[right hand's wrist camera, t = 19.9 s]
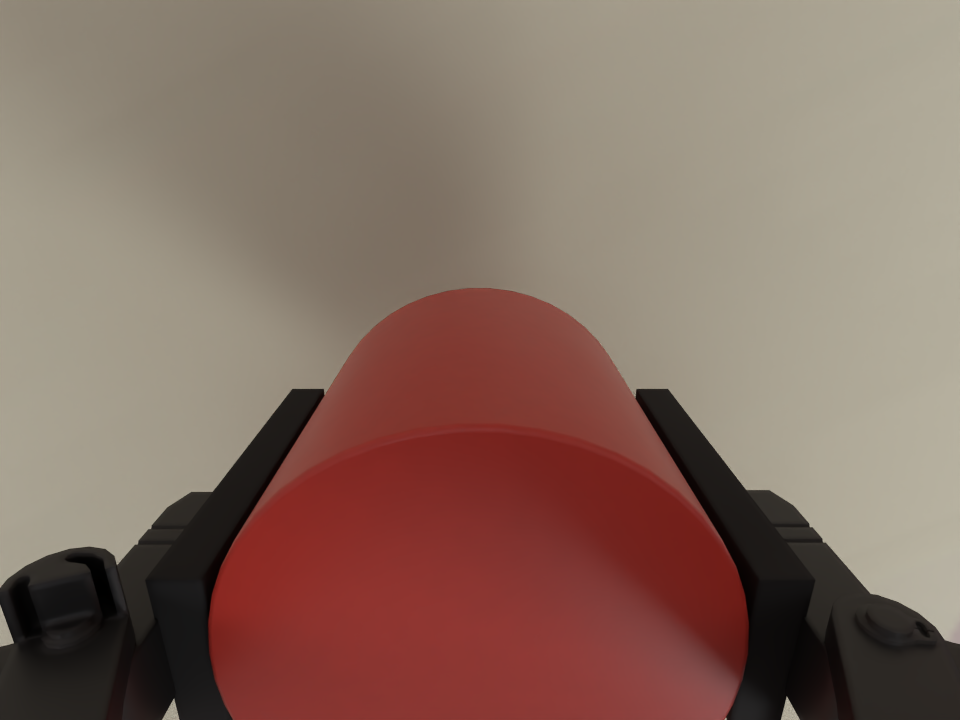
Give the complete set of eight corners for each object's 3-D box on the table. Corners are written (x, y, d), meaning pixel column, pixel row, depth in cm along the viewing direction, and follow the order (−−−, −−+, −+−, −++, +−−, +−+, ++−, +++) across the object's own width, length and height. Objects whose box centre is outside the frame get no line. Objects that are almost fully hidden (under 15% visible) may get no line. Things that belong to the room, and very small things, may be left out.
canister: (689, 394, 14) (870, 609, 8) (515, 594, 17) (539, 898, 10) (433, 222, 13) (382, 304, 6) (279, 467, 15) (120, 721, 8)
